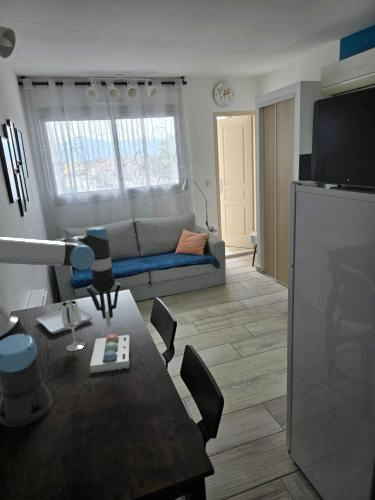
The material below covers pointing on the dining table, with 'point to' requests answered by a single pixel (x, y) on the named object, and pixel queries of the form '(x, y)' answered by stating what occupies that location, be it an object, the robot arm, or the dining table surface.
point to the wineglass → (71, 322)
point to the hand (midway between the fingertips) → (109, 325)
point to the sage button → (111, 346)
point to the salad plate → (55, 322)
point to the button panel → (121, 353)
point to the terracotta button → (112, 338)
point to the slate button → (109, 356)
